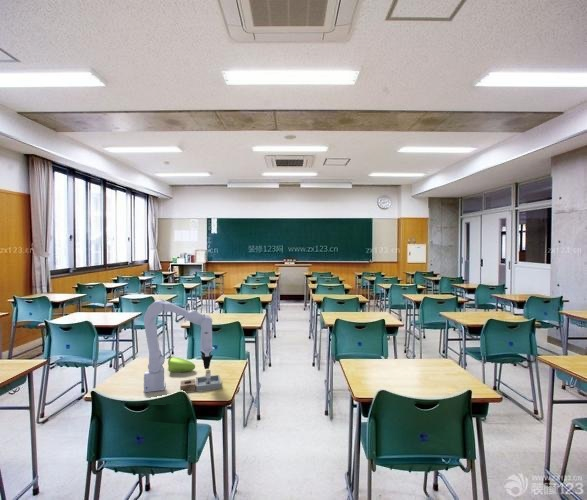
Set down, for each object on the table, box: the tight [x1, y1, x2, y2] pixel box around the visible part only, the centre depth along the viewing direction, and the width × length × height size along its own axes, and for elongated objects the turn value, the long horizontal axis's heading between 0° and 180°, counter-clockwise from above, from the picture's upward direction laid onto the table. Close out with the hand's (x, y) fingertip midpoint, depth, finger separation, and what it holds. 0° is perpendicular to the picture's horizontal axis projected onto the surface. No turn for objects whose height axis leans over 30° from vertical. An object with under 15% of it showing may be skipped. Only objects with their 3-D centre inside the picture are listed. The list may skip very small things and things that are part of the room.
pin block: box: [179, 378, 196, 392], centre depth 168 cm, size 7×7×3 cm
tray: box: [195, 374, 222, 392], centre depth 172 cm, size 12×12×2 cm
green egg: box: [167, 356, 196, 373], centre depth 192 cm, size 8×12×20 cm
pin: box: [205, 369, 212, 384], centre depth 172 cm, size 2×2×7 cm
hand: (206, 366), depth 173 cm, fingers open, 7 cm apart
